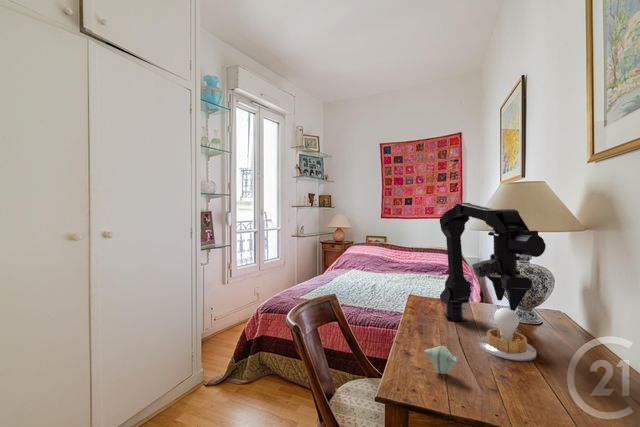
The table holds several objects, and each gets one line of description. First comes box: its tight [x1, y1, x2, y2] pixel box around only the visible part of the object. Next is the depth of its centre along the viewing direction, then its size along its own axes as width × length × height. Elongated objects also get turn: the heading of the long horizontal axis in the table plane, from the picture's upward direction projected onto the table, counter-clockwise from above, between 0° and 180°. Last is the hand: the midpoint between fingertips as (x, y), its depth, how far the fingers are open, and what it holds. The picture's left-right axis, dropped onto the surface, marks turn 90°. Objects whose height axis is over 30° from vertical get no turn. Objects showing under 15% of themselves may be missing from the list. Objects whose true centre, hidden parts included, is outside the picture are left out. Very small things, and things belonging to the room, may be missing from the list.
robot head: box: [423, 345, 458, 375], centre depth 72 cm, size 8×4×7 cm, turn 47°
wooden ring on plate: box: [478, 328, 537, 362], centre depth 84 cm, size 14×14×4 cm
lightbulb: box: [493, 307, 520, 341], centre depth 84 cm, size 6×6×11 cm
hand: (505, 305), depth 84 cm, fingers open, 9 cm apart
